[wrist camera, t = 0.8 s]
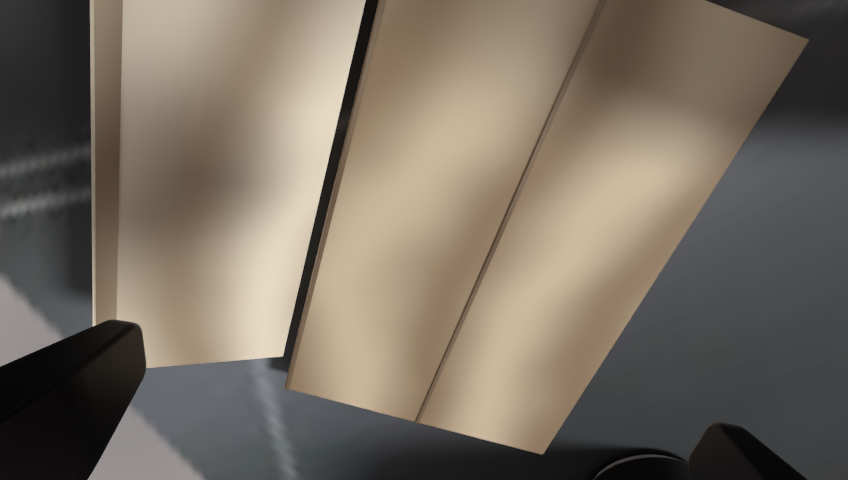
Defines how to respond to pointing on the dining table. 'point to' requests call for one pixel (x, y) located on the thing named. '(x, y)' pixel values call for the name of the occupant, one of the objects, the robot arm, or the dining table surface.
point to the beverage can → (646, 469)
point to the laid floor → (518, 198)
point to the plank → (210, 165)
